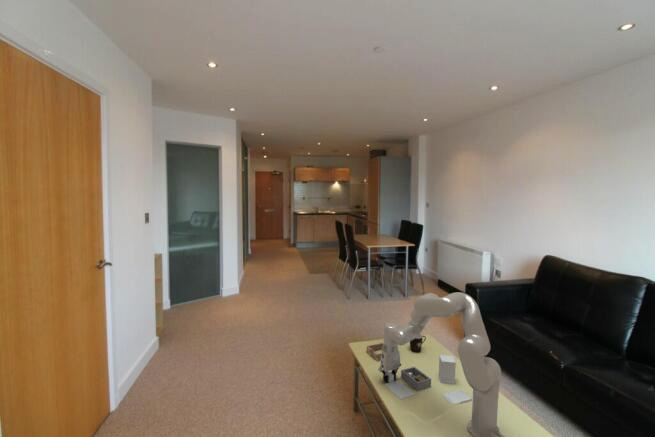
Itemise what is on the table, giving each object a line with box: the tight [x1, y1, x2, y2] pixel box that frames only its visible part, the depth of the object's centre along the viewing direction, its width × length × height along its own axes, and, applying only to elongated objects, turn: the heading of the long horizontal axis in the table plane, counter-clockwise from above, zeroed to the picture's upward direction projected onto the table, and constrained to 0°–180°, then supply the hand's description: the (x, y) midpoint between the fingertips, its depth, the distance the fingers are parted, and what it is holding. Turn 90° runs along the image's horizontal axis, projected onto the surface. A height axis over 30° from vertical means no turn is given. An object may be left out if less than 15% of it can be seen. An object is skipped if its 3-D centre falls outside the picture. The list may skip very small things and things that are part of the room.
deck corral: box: [366, 342, 383, 362], centre depth 196 cm, size 12×12×4 cm
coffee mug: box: [409, 333, 427, 354], centre depth 202 cm, size 12×9×10 cm
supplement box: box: [438, 354, 457, 385], centre depth 168 cm, size 7×7×13 cm
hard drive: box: [440, 389, 473, 406], centre depth 154 cm, size 2×8×12 cm
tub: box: [400, 366, 432, 392], centre depth 166 cm, size 13×9×5 cm
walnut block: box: [414, 375, 426, 382], centre depth 163 cm, size 4×4×4 cm
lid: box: [384, 370, 416, 400], centre depth 161 cm, size 17×9×4 cm, turn 25°
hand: (389, 379), depth 167 cm, fingers open, 4 cm apart
